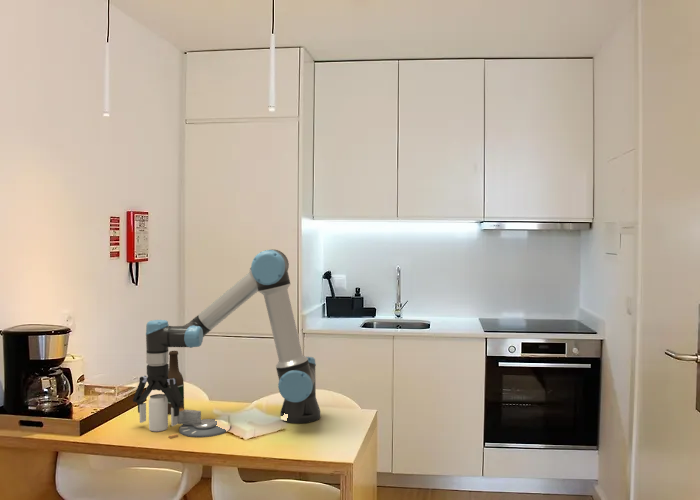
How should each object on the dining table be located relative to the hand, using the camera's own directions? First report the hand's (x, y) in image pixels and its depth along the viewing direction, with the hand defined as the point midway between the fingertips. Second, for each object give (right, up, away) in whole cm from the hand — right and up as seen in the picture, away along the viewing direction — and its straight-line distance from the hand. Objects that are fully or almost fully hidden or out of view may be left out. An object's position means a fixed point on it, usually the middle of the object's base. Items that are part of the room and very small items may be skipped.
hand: (158, 423), depth 223 cm
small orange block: (+8, -2, -9) cm, 12 cm away
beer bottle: (0, -2, +21) cm, 21 cm away
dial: (+13, -1, +1) cm, 13 cm away
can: (0, -2, 0) cm, 2 cm away
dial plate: (+17, -2, 0) cm, 17 cm away
